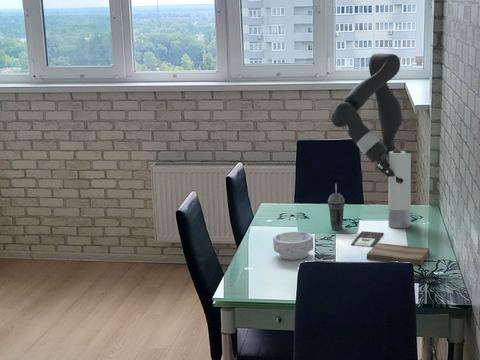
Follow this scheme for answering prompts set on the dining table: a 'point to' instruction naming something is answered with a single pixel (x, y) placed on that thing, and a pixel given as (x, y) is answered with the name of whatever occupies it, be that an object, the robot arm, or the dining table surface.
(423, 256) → the walnut board
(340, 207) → the beverage cup
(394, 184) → the paper towel roll
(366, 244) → the chocolate bar
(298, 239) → the grey marble bowl
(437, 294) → the dining table surface
